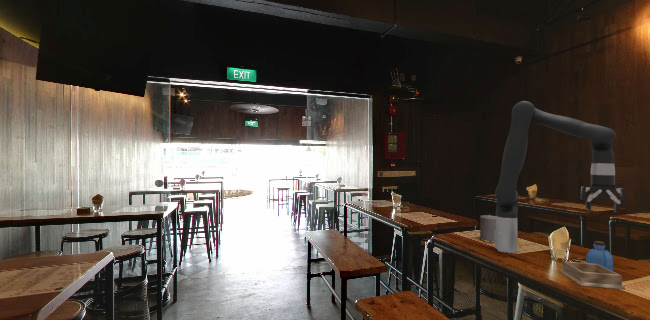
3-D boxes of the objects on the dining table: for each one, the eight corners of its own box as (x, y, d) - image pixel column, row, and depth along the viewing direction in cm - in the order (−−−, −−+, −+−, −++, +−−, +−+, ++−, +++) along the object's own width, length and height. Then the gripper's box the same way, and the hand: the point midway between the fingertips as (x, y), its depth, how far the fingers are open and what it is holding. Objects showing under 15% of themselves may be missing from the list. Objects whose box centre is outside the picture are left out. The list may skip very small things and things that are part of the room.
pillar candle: (476, 238, 167) (476, 213, 167) (491, 237, 168) (491, 212, 168) (487, 243, 157) (487, 216, 157) (503, 242, 158) (503, 216, 158)
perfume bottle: (606, 274, 113) (606, 244, 113) (586, 269, 118) (586, 241, 118) (612, 272, 115) (612, 242, 116) (593, 267, 121) (592, 239, 121)
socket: (581, 285, 103) (581, 272, 103) (560, 271, 115) (560, 260, 115) (624, 289, 100) (624, 276, 100) (598, 275, 112) (598, 263, 112)
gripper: (583, 173, 123) (582, 210, 123) (629, 174, 116) (629, 214, 116) (578, 173, 130) (578, 208, 129) (622, 174, 122) (622, 211, 122)
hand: (602, 211), depth 123 cm, fingers open, 8 cm apart
